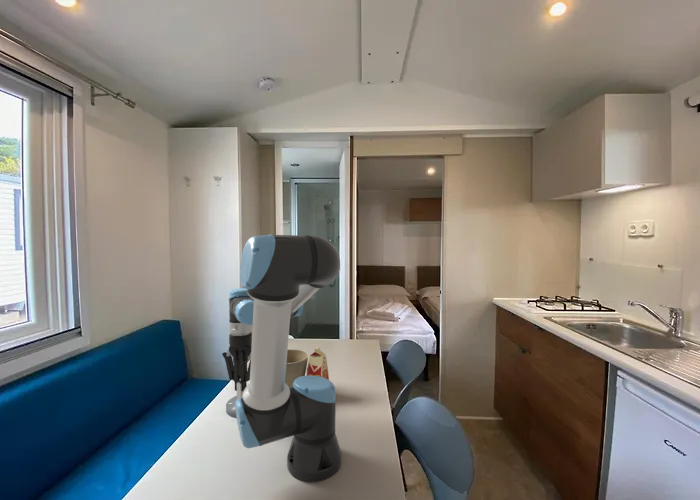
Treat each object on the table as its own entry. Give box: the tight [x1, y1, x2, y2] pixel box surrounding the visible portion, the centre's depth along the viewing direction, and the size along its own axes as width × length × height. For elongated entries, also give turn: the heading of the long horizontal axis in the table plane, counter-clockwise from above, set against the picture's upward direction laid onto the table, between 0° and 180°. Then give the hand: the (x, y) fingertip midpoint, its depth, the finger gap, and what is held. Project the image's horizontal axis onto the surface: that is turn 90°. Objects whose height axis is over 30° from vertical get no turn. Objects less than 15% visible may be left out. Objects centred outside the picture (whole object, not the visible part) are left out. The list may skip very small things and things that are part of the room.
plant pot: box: [285, 348, 309, 388], centre depth 129 cm, size 15×15×16 cm
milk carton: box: [306, 346, 330, 381], centre depth 128 cm, size 9×9×20 cm
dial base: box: [225, 395, 237, 419], centre depth 120 cm, size 14×14×2 cm
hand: (240, 399), depth 114 cm, fingers closed
